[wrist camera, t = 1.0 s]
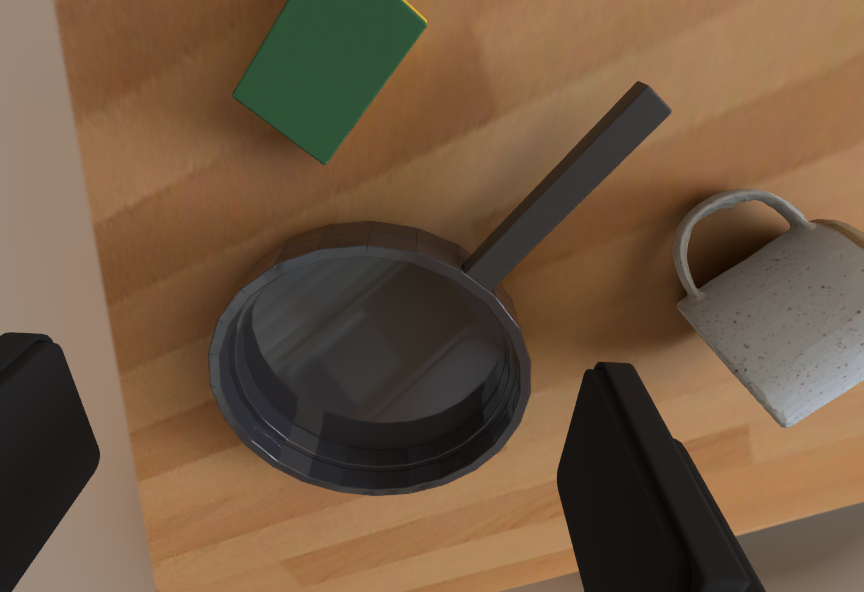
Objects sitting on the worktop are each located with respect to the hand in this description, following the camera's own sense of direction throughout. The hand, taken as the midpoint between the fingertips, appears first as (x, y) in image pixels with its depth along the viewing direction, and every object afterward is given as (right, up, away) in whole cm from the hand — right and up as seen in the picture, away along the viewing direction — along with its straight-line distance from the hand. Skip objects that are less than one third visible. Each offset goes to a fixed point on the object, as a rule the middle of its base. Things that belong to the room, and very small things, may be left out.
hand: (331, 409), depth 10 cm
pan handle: (+7, +7, +14) cm, 17 cm away
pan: (-1, -1, +21) cm, 21 cm away
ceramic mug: (+19, +4, +19) cm, 27 cm away
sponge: (-2, +13, +13) cm, 18 cm away
